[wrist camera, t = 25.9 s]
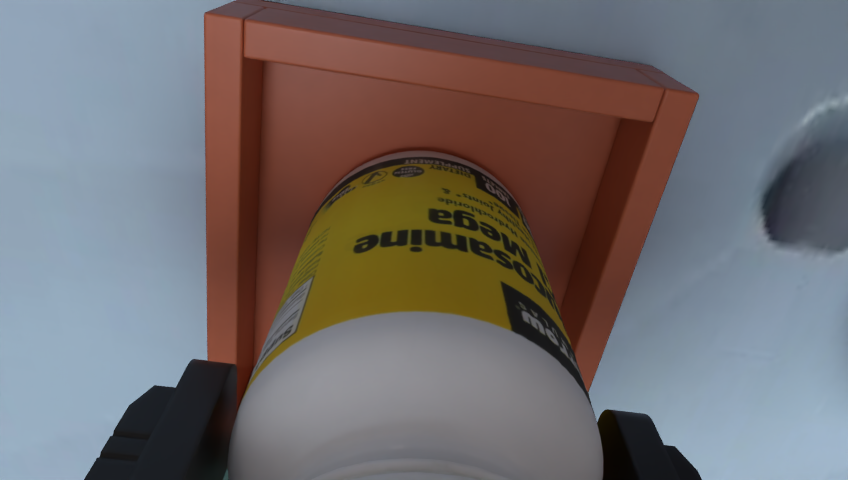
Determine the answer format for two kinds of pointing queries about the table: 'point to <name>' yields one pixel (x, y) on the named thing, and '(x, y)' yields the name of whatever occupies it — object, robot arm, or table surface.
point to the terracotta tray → (423, 131)
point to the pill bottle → (417, 342)
